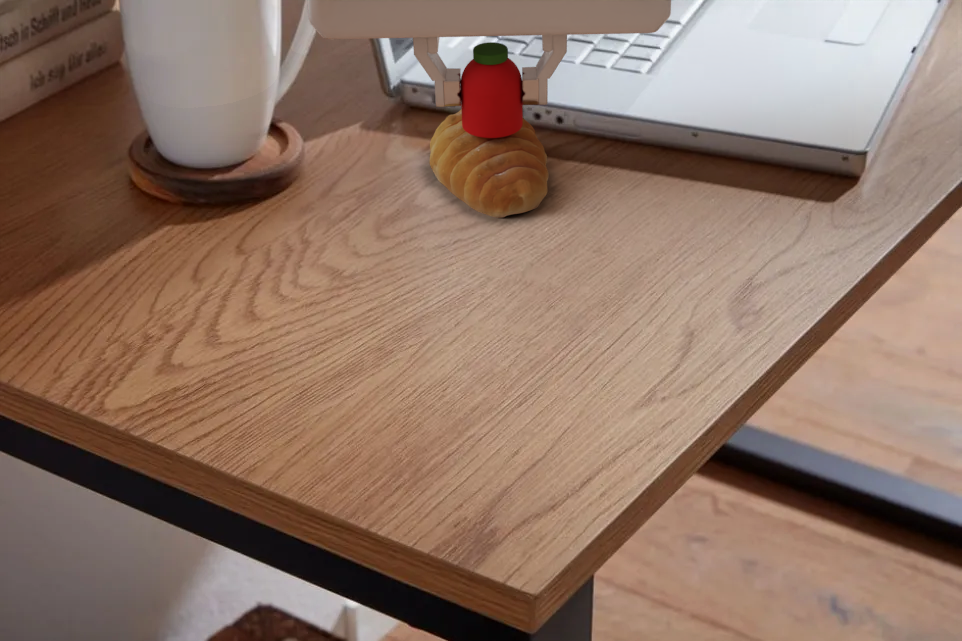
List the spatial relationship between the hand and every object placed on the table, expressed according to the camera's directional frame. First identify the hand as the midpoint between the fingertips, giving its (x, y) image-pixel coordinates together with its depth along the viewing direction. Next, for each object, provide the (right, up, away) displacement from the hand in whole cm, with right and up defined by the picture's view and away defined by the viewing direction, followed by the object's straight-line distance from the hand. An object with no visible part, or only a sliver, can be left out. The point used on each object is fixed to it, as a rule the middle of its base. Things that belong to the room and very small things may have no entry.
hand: (491, 102), depth 78 cm
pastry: (0, -5, +3) cm, 6 cm away
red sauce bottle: (0, -1, +1) cm, 2 cm away
